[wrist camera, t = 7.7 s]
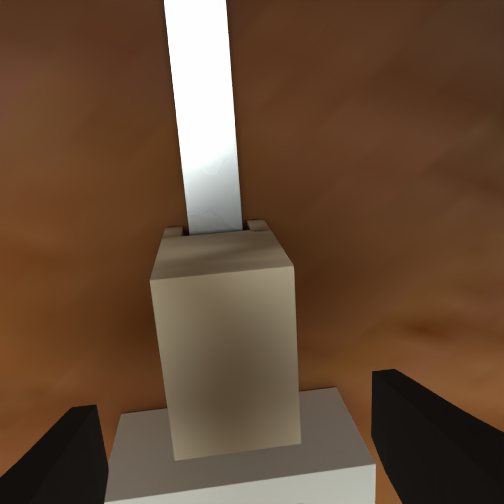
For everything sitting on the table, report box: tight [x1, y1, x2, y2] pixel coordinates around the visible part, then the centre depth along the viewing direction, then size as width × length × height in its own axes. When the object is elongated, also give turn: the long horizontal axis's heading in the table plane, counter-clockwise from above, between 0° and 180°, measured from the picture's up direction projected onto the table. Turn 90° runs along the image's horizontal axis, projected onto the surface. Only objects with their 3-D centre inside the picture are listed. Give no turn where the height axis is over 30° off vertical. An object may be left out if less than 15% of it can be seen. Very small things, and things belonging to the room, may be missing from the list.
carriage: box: [150, 219, 301, 461], centre depth 16 cm, size 4×6×6 cm, turn 4°
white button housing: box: [104, 387, 376, 504], centre depth 20 cm, size 10×7×5 cm
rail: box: [164, 0, 243, 236], centre depth 18 cm, size 2×18×2 cm, turn 4°
